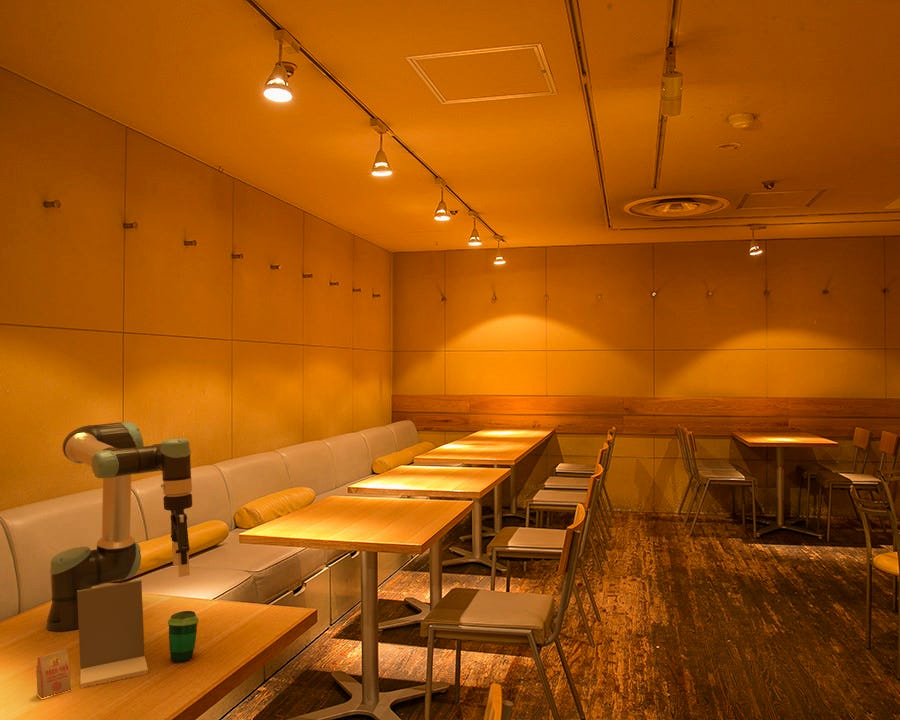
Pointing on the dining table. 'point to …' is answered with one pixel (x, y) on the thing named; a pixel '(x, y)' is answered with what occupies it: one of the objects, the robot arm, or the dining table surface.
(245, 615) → the dining table surface
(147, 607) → the dining table surface
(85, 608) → the stand
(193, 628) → the cup
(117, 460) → the robot arm
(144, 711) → the dining table surface
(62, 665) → the tea bag
